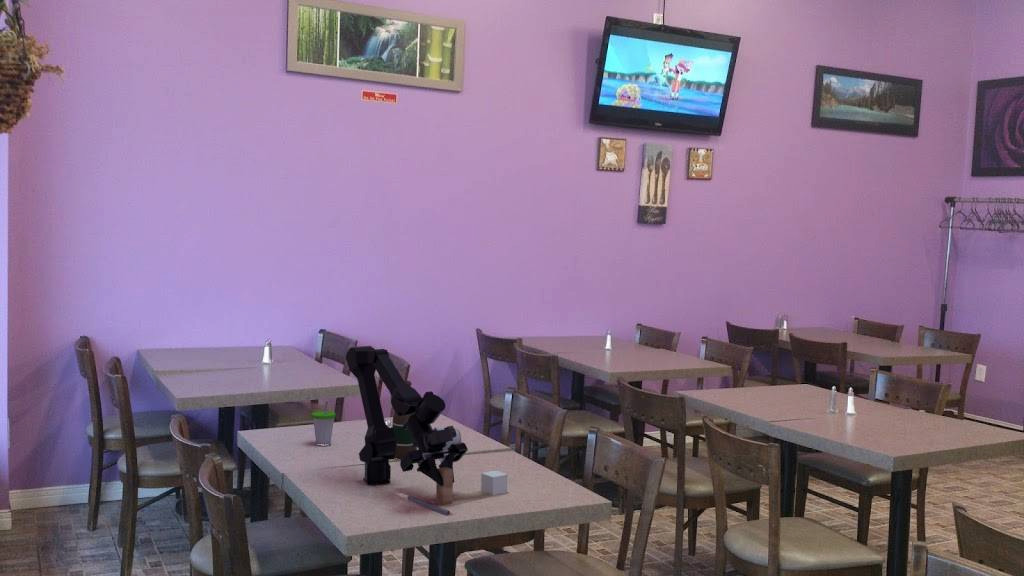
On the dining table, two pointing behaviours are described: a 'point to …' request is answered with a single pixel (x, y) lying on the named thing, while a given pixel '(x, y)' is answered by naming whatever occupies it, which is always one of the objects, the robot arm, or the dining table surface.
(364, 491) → the dining table surface
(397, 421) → the beer bottle
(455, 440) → the ceramic mug
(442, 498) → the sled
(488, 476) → the light blue-gray cube
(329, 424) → the cup
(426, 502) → the lane rails
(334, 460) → the dining table surface
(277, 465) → the dining table surface
